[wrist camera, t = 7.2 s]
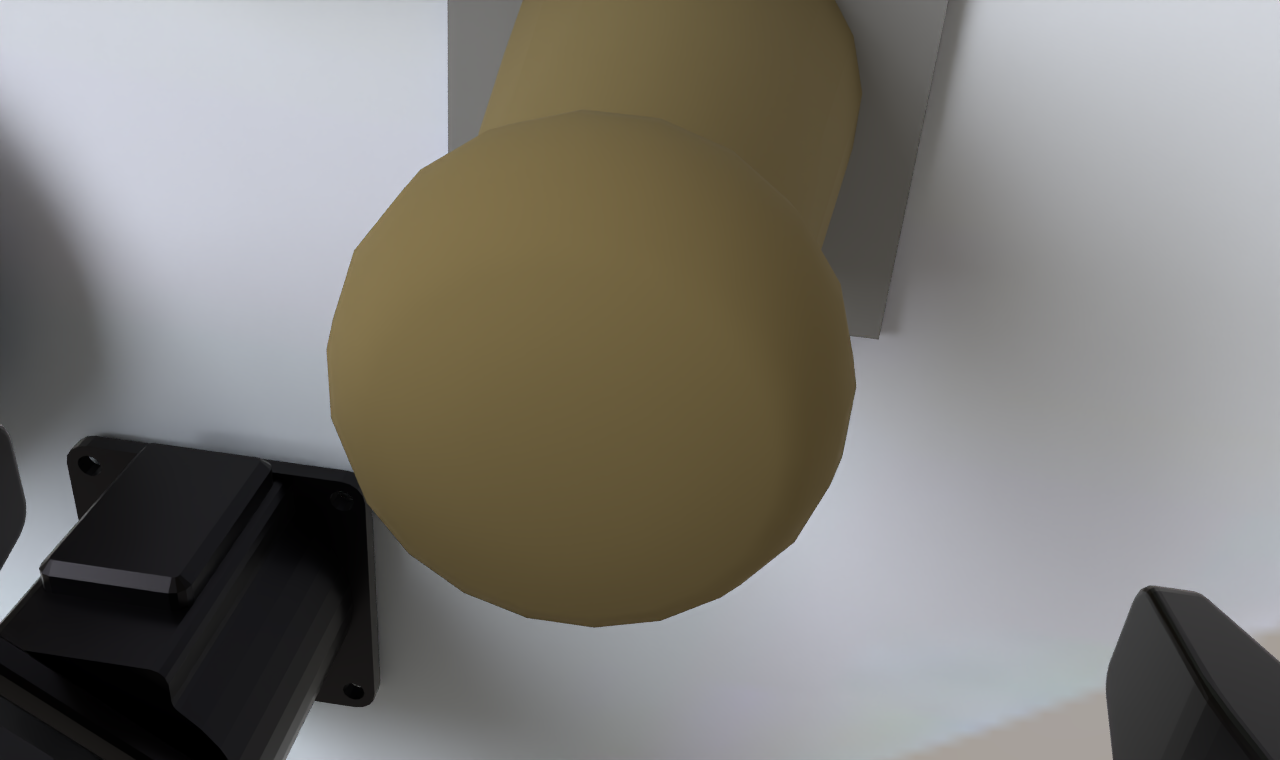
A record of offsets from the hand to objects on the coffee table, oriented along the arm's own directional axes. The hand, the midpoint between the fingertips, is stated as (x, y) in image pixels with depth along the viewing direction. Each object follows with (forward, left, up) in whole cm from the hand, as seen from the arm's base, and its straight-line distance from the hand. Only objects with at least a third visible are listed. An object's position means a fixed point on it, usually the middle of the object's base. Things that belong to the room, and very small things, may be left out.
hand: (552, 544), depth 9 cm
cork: (0, 0, -12) cm, 12 cm away
